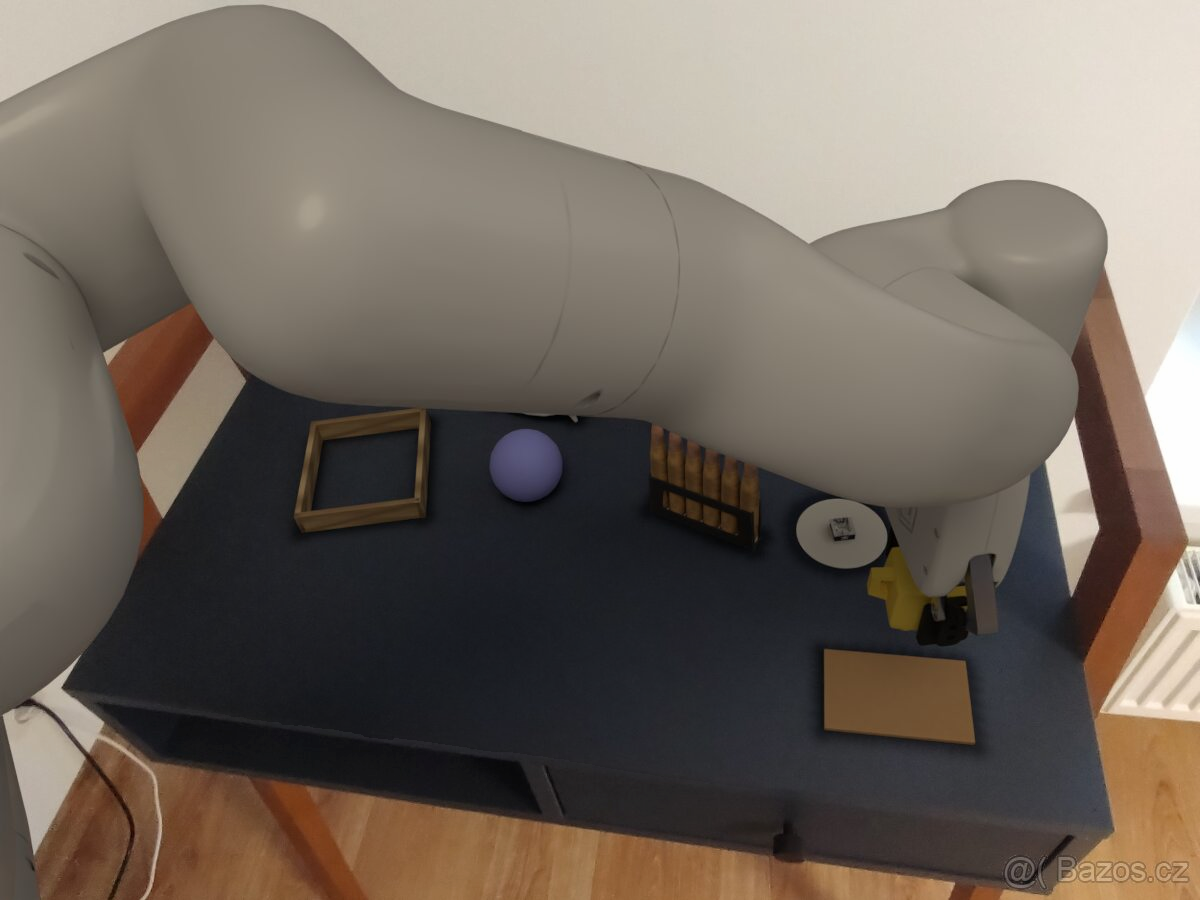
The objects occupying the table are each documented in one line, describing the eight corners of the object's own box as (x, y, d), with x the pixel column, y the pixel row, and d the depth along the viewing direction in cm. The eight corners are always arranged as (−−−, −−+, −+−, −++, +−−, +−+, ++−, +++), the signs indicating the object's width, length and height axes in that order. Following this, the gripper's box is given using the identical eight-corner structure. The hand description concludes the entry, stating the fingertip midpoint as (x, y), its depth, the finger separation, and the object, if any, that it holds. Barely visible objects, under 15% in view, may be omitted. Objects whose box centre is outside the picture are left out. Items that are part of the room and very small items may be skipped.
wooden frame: (425, 517, 91) (420, 501, 89) (301, 533, 91) (293, 517, 89) (431, 422, 100) (426, 406, 98) (318, 437, 100) (311, 421, 98)
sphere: (505, 461, 95) (493, 411, 90) (572, 465, 94) (564, 415, 89) (488, 514, 90) (474, 465, 85) (559, 519, 89) (549, 470, 84)
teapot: (975, 567, 66) (990, 521, 62) (992, 638, 62) (1009, 594, 58) (858, 566, 67) (866, 520, 63) (867, 636, 63) (876, 592, 59)
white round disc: (806, 572, 82) (807, 563, 81) (788, 503, 88) (789, 494, 87) (897, 563, 82) (899, 554, 81) (874, 494, 87) (875, 485, 86)
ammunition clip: (649, 511, 89) (641, 421, 80) (658, 497, 90) (651, 407, 81) (753, 551, 84) (757, 461, 76) (762, 536, 85) (766, 446, 77)
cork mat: (974, 745, 70) (975, 742, 70) (823, 730, 72) (824, 727, 72) (964, 663, 75) (965, 660, 74) (823, 651, 77) (823, 648, 76)
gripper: (860, 317, 57) (835, 507, 70) (961, 541, 45) (908, 720, 58) (984, 301, 57) (936, 494, 70) (1117, 521, 45) (1029, 704, 58)
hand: (923, 595), depth 64 cm, fingers closed on teapot, 6 cm apart
